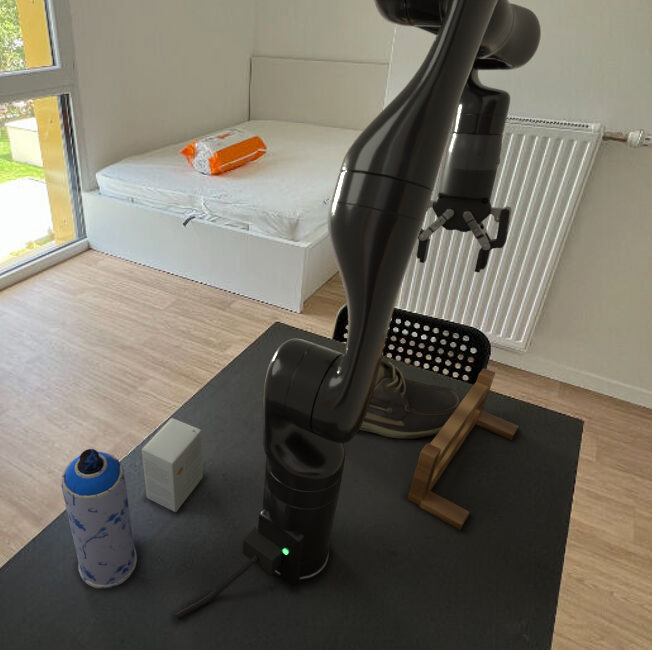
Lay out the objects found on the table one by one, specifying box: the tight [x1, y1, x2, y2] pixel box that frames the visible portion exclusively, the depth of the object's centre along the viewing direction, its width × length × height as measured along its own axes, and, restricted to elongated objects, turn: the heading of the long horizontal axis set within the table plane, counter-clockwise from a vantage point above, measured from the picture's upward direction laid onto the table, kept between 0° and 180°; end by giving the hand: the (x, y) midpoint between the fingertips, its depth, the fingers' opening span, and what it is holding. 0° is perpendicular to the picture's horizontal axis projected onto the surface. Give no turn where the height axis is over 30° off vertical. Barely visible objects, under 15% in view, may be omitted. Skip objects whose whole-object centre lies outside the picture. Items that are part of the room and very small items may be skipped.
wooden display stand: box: [407, 367, 519, 531], centre depth 84 cm, size 27×8×10 cm, turn 138°
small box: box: [141, 417, 204, 513], centre depth 80 cm, size 8×6×10 cm
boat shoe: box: [359, 359, 462, 440], centre depth 93 cm, size 11×29×11 cm, turn 89°
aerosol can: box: [61, 448, 138, 590], centre depth 67 cm, size 8×8×20 cm
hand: (449, 266), depth 88 cm, fingers open, 8 cm apart
